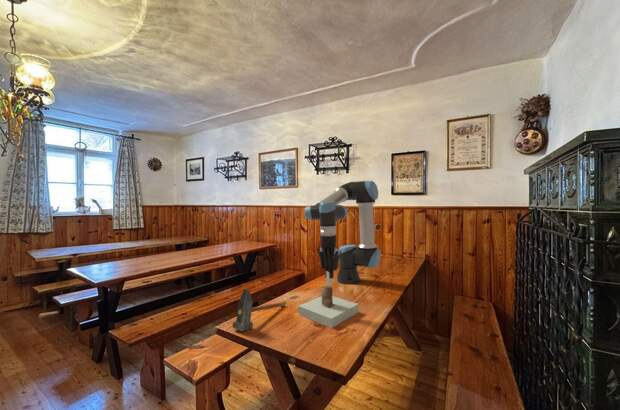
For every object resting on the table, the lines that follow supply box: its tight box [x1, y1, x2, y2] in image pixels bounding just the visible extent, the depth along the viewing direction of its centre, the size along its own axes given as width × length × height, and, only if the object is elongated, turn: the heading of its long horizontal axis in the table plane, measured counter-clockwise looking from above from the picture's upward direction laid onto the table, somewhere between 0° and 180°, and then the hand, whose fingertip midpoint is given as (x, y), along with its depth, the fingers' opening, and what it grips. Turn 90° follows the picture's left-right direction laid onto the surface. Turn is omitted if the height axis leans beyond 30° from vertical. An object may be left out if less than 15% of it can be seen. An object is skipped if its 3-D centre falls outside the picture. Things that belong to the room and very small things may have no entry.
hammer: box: [232, 288, 287, 332], centre depth 119 cm, size 6×16×30 cm
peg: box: [320, 285, 333, 308], centre depth 121 cm, size 5×5×12 cm
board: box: [297, 295, 359, 329], centre depth 121 cm, size 20×20×4 cm
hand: (329, 284), depth 122 cm, fingers closed
